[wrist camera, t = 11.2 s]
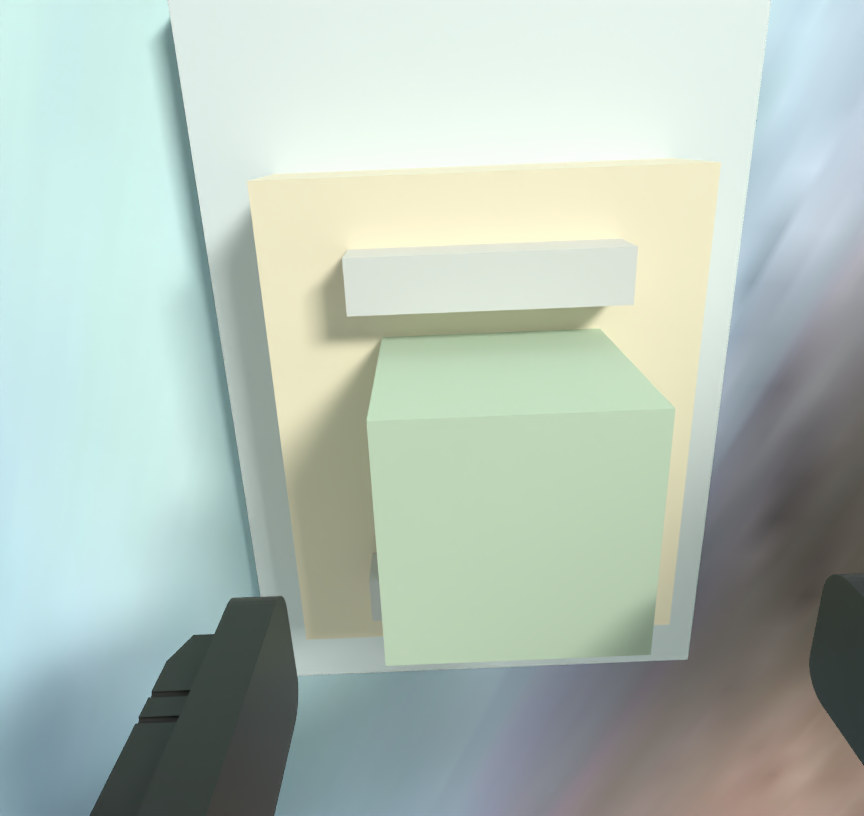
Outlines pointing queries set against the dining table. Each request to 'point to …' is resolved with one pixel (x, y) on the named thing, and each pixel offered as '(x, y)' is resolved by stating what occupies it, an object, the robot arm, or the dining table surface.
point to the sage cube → (516, 496)
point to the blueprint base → (448, 117)
